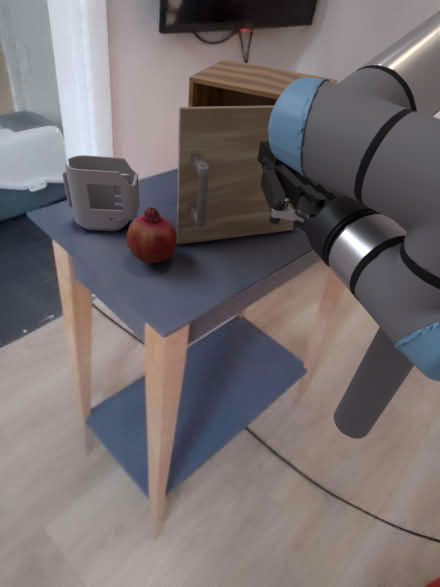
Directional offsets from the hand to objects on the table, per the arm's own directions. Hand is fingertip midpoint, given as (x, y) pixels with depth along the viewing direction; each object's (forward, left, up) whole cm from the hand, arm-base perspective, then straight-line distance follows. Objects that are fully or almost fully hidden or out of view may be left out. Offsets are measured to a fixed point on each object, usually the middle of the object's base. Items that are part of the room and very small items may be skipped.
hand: (263, 150), depth 56 cm
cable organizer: (+27, +1, -20) cm, 33 cm away
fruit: (+15, +7, -20) cm, 26 cm away
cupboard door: (+2, -5, -20) cm, 20 cm away
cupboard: (+7, -24, -20) cm, 32 cm away
